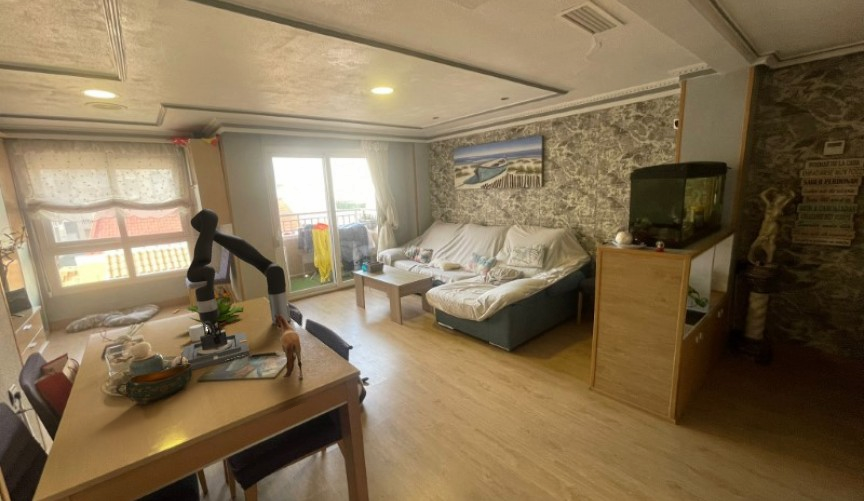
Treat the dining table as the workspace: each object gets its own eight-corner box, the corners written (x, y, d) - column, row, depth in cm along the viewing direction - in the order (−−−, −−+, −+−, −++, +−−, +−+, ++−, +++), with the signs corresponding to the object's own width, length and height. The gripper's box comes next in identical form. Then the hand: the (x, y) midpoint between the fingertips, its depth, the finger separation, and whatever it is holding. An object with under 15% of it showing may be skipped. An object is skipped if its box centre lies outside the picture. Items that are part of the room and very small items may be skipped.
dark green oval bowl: (136, 392, 132) (130, 368, 131) (196, 381, 139) (192, 357, 137) (118, 413, 120) (112, 386, 119) (185, 399, 127) (180, 374, 125)
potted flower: (222, 332, 187) (217, 301, 184) (179, 334, 188) (173, 303, 185) (247, 315, 212) (243, 287, 209) (209, 317, 213) (204, 290, 209)
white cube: (209, 335, 184) (206, 323, 183) (199, 341, 177) (196, 328, 176) (197, 336, 185) (194, 323, 183) (186, 341, 178) (184, 329, 177)
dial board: (245, 335, 181) (244, 329, 180) (249, 354, 159) (248, 347, 158) (184, 350, 167) (183, 343, 167) (180, 373, 145) (178, 365, 145)
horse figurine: (280, 357, 154) (274, 313, 151) (299, 352, 158) (293, 309, 154) (285, 392, 127) (276, 339, 123) (307, 385, 130) (300, 334, 126)
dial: (196, 347, 164) (194, 333, 163) (230, 338, 172) (228, 324, 171) (198, 358, 153) (195, 342, 152) (234, 348, 161) (231, 333, 160)
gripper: (193, 308, 161) (199, 341, 164) (204, 314, 152) (211, 348, 155) (211, 303, 166) (217, 335, 169) (223, 308, 158) (229, 342, 161)
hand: (214, 341), depth 162 cm, fingers open, 8 cm apart
